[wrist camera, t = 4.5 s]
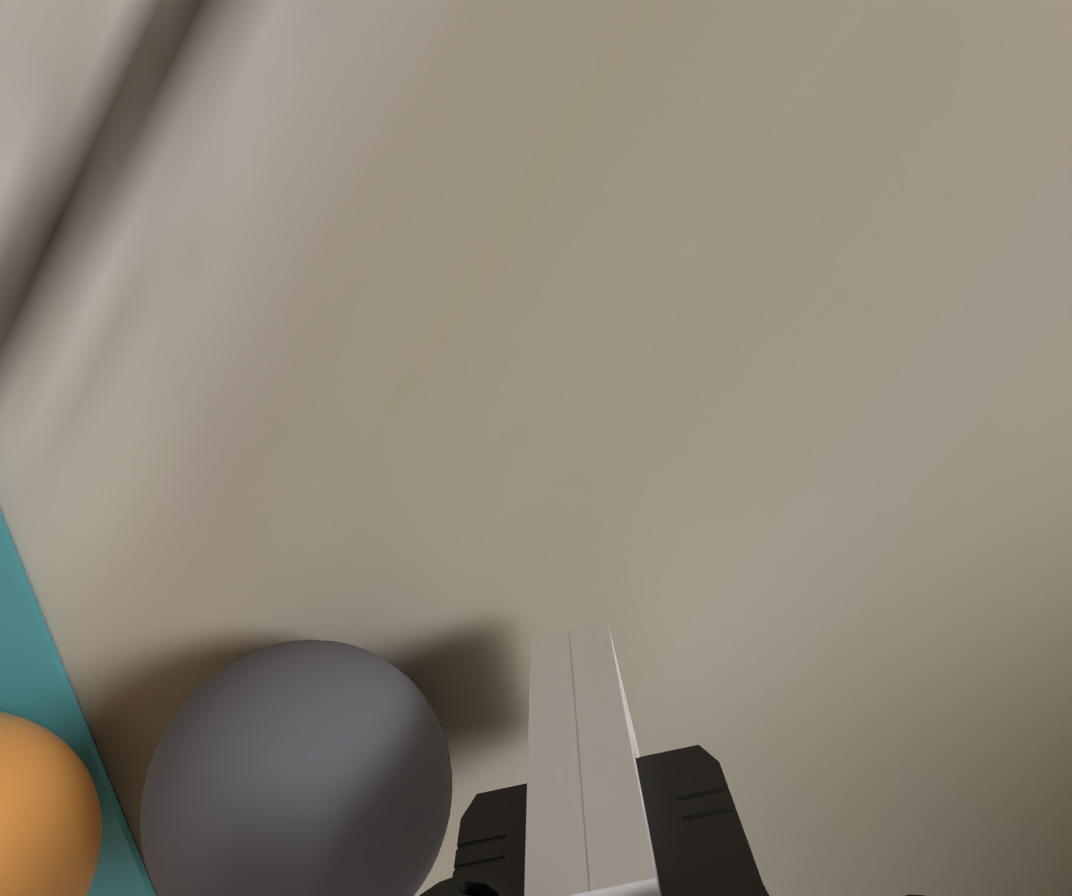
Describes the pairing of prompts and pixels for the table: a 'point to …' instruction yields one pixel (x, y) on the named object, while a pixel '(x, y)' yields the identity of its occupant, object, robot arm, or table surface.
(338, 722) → the charcoal ball
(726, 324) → the table surface
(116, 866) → the teal mark
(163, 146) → the table surface
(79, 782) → the orange ball
